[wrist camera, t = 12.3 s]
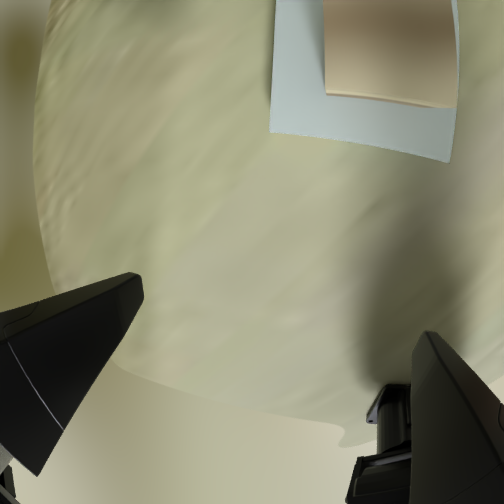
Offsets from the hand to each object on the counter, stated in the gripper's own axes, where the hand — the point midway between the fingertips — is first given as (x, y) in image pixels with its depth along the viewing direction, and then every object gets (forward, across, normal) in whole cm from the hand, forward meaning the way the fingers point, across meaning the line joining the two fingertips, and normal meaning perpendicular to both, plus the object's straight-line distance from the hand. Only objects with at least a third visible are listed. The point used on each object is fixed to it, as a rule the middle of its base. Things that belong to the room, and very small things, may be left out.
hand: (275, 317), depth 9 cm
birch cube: (+9, -3, -9) cm, 13 cm away
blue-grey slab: (+12, -2, -10) cm, 16 cm away
